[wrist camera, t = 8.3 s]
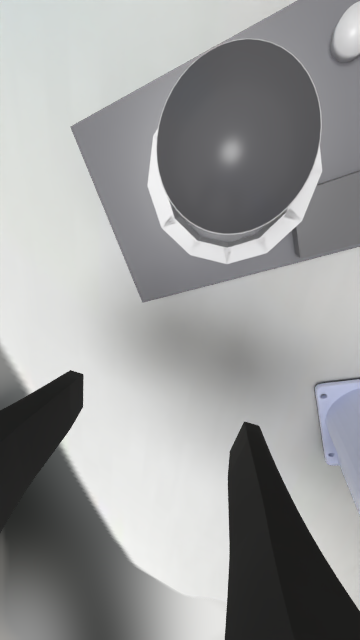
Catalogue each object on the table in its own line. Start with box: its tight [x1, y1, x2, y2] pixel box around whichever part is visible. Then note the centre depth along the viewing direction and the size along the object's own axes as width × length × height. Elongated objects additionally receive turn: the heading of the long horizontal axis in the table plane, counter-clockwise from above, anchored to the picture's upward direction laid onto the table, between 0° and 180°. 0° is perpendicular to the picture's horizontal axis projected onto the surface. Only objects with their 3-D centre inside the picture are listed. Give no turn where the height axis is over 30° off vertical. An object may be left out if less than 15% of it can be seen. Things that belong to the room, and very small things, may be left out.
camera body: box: [71, 0, 360, 302], centre depth 13 cm, size 10×14×4 cm
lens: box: [156, 39, 322, 235], centre depth 9 cm, size 4×4×6 cm
